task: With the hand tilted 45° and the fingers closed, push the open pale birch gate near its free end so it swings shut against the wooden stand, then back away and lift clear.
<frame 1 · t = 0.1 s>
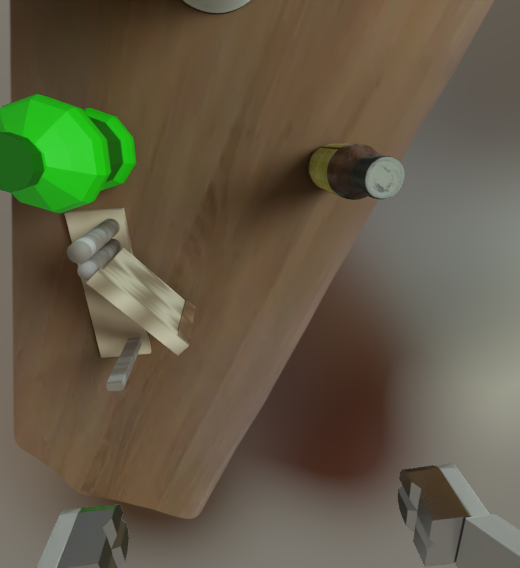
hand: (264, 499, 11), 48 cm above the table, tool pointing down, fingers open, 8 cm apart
sauce bottle: (328, 165, 54), on the table
plastic bottle: (105, 149, 51), on the table
wooden stand: (112, 286, 58), on the table
gate: (143, 292, 51), point 7 cm above the table, hinge at 40.0°
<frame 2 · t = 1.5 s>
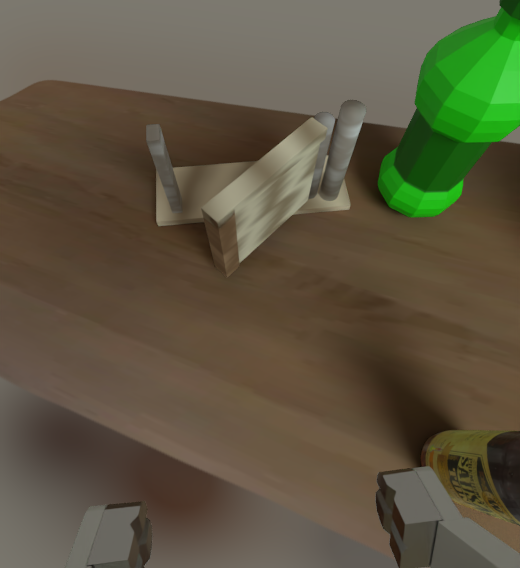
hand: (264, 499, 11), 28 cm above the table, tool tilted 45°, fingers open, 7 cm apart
sauce bottle: (449, 466, 36), on the table
plastic bottle: (407, 198, 49), on the table
wooden stand: (251, 191, 48), on the table
gate: (271, 198, 39), point 7 cm above the table, hinge at 40.0°
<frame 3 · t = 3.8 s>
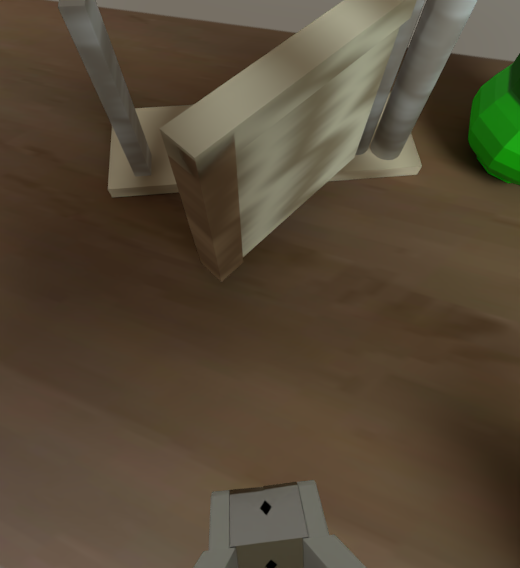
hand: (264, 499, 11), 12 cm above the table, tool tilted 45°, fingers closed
plastic bottle: (507, 159, 31), on the table
wooden stand: (262, 146, 31), on the table
gate: (303, 139, 22), point 7 cm above the table, hinge at 40.0°
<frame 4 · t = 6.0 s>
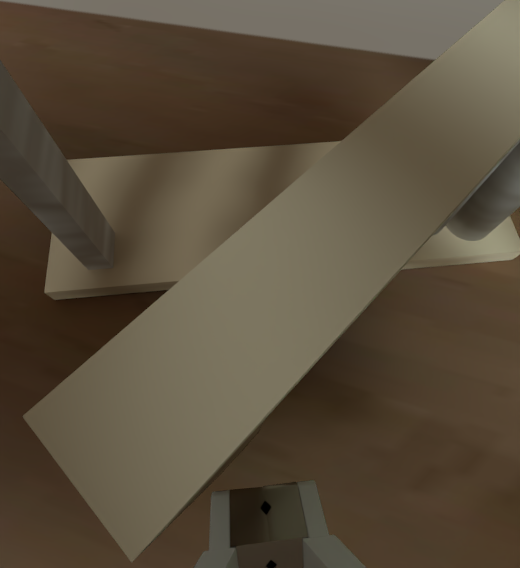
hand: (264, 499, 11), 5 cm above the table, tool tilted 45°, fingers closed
wooden stand: (281, 214, 21), on the table
gate: (372, 255, 12), point 7 cm above the table, hinge at 40.0°, touching gripper
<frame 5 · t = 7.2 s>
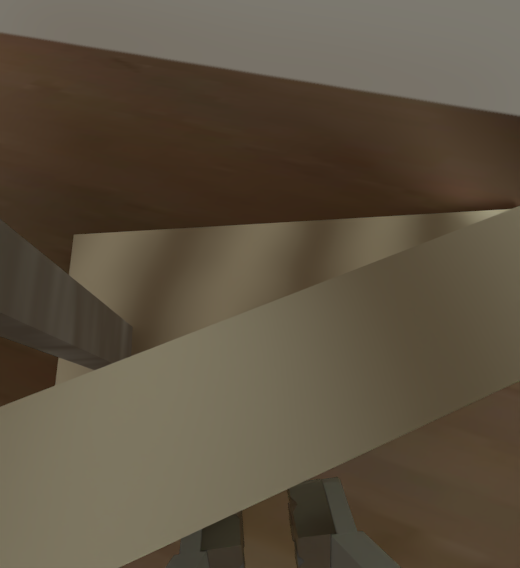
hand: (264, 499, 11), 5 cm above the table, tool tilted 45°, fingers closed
wooden stand: (317, 300, 19), on the table
gate: (385, 359, 10), point 7 cm above the table, hinge at 18.1°, touching gripper
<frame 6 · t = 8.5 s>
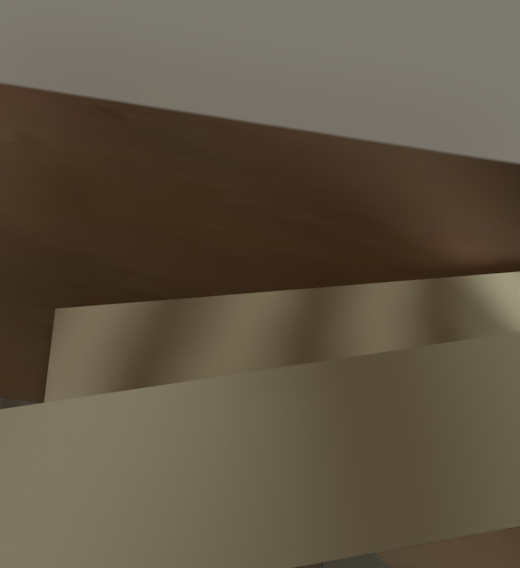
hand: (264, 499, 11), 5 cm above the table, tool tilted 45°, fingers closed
wooden stand: (317, 375, 17), on the table
gate: (371, 428, 10), point 7 cm above the table, hinge at 3.4°, touching gripper
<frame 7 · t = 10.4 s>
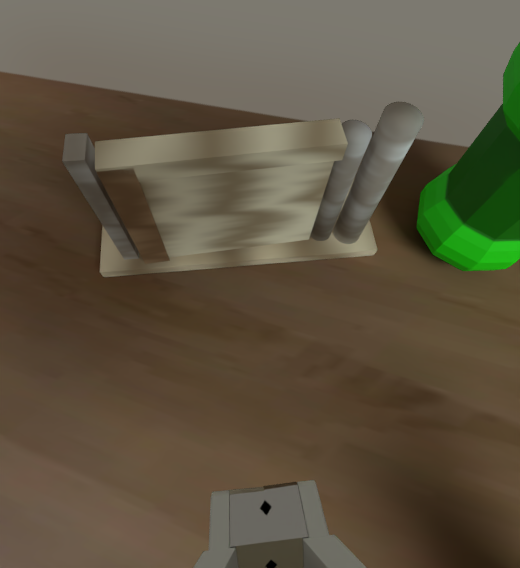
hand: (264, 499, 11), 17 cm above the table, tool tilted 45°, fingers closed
plastic bottle: (452, 240, 35), on the table
wooden stand: (238, 227, 35), on the table
gate: (239, 201, 27), point 7 cm above the table, hinge at 3.3°
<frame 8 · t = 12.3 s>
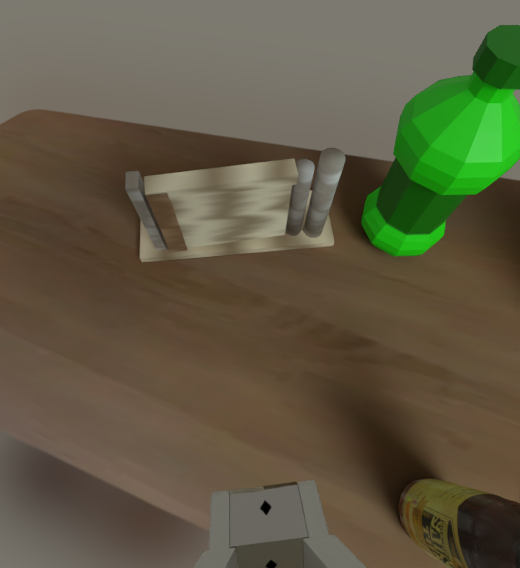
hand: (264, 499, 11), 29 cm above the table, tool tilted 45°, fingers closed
sauce bottle: (427, 513, 36), on the table
plastic bottle: (391, 234, 49), on the table
wooden stand: (236, 226, 48), on the table
gate: (234, 209, 41), point 7 cm above the table, hinge at 3.3°
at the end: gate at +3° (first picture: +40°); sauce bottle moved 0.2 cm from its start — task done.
